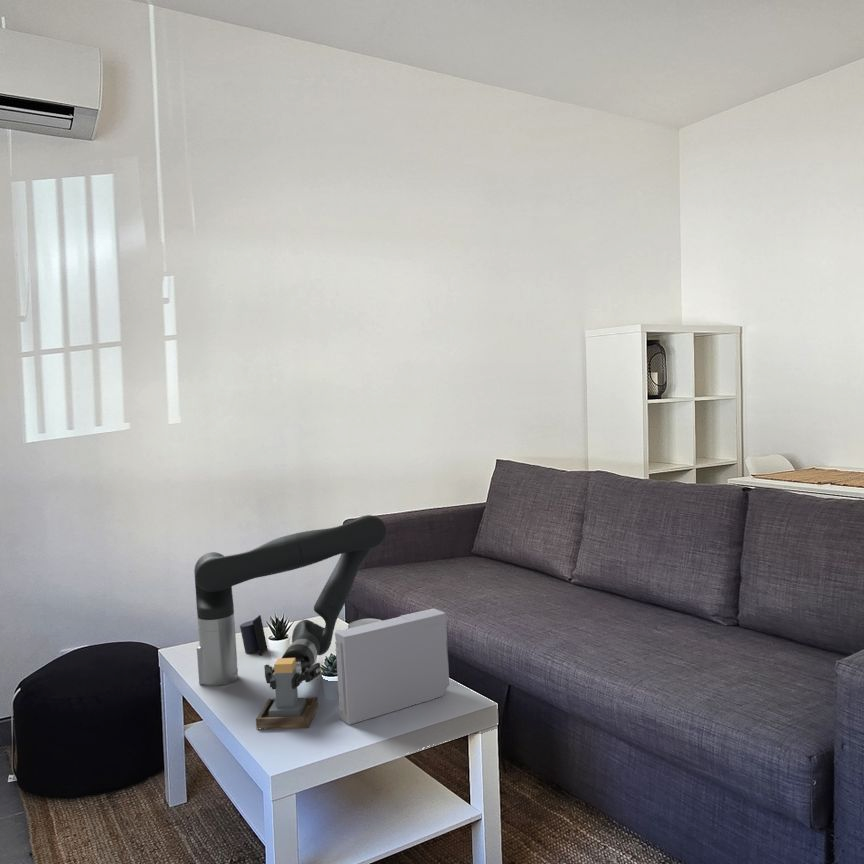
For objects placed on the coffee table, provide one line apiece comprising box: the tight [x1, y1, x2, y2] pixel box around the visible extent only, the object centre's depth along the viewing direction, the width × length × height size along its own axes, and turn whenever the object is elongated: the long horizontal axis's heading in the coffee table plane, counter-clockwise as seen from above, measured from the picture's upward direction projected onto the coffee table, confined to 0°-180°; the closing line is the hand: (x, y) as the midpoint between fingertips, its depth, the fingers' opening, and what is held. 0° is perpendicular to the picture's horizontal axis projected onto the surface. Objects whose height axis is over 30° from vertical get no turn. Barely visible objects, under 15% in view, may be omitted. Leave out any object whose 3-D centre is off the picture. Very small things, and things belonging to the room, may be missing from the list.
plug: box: [269, 657, 307, 717], centre depth 180 cm, size 7×7×12 cm
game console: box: [334, 608, 450, 726], centre depth 184 cm, size 6×27×20 cm, turn 123°
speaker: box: [239, 615, 268, 657], centre depth 230 cm, size 8×6×10 cm
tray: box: [255, 696, 319, 730], centre depth 180 cm, size 12×12×2 cm
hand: (283, 684), depth 177 cm, fingers closed on plug, 4 cm apart
